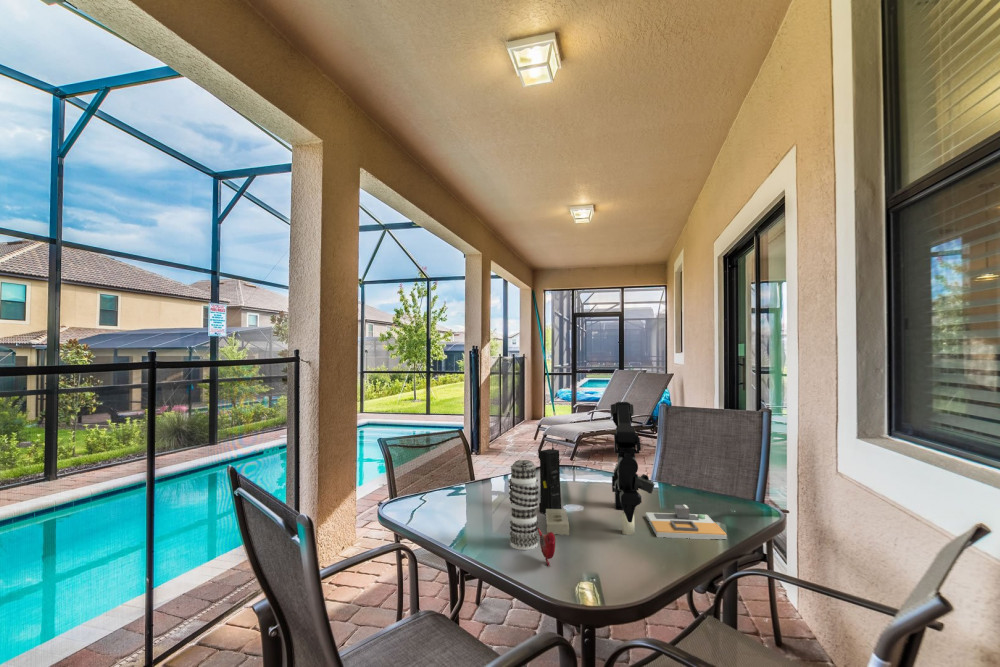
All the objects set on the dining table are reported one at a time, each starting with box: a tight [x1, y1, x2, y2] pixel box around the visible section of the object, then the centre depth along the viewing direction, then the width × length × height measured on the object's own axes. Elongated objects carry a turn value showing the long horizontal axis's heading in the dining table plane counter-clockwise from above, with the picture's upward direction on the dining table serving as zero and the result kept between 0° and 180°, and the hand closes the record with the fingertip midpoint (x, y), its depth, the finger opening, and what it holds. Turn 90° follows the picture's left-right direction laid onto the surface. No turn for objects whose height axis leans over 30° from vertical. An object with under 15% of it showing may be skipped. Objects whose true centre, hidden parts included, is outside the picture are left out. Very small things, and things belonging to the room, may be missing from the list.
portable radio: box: [537, 442, 563, 514], centre depth 172 cm, size 8×6×25 cm
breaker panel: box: [645, 512, 728, 540], centre depth 154 cm, size 21×20×3 cm
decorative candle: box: [508, 459, 540, 551], centre depth 141 cm, size 9×9×25 cm
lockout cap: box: [621, 511, 636, 536], centre depth 150 cm, size 4×4×6 cm
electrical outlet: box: [545, 508, 570, 536], centre depth 157 cm, size 7×4×18 cm
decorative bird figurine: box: [537, 527, 556, 567], centre depth 129 cm, size 3×18×10 cm, turn 9°
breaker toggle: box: [673, 504, 690, 518], centre depth 160 cm, size 4×4×3 cm
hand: (627, 517), depth 150 cm, fingers open, 9 cm apart
